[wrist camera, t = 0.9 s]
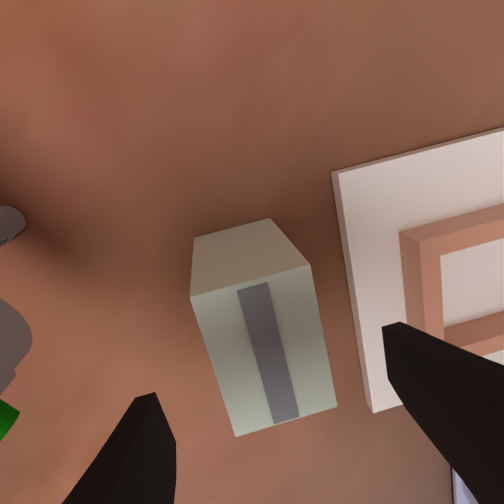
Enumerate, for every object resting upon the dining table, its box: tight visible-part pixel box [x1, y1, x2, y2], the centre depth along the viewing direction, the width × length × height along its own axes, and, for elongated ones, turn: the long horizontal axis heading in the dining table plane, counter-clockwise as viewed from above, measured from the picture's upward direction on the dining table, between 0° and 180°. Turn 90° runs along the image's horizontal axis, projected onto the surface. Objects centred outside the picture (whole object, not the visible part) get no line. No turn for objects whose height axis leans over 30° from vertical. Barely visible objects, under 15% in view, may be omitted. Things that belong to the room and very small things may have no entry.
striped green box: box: [189, 218, 337, 437], centre depth 15 cm, size 6×4×7 cm, turn 13°
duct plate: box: [331, 127, 504, 413], centre depth 19 cm, size 15×15×3 cm
